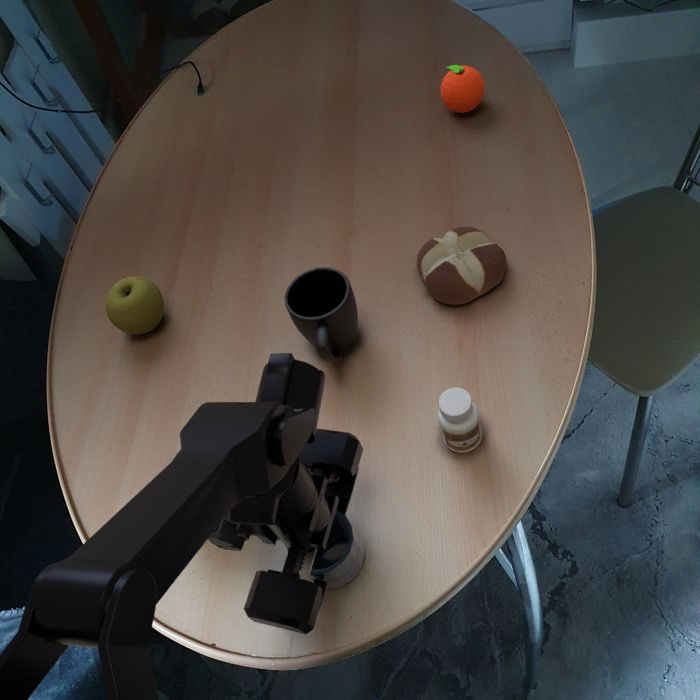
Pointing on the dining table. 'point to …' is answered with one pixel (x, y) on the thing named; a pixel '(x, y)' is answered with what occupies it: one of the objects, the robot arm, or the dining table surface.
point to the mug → (324, 311)
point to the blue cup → (338, 554)
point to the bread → (461, 265)
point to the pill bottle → (459, 420)
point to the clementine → (462, 88)
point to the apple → (135, 305)
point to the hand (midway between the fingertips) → (329, 552)
